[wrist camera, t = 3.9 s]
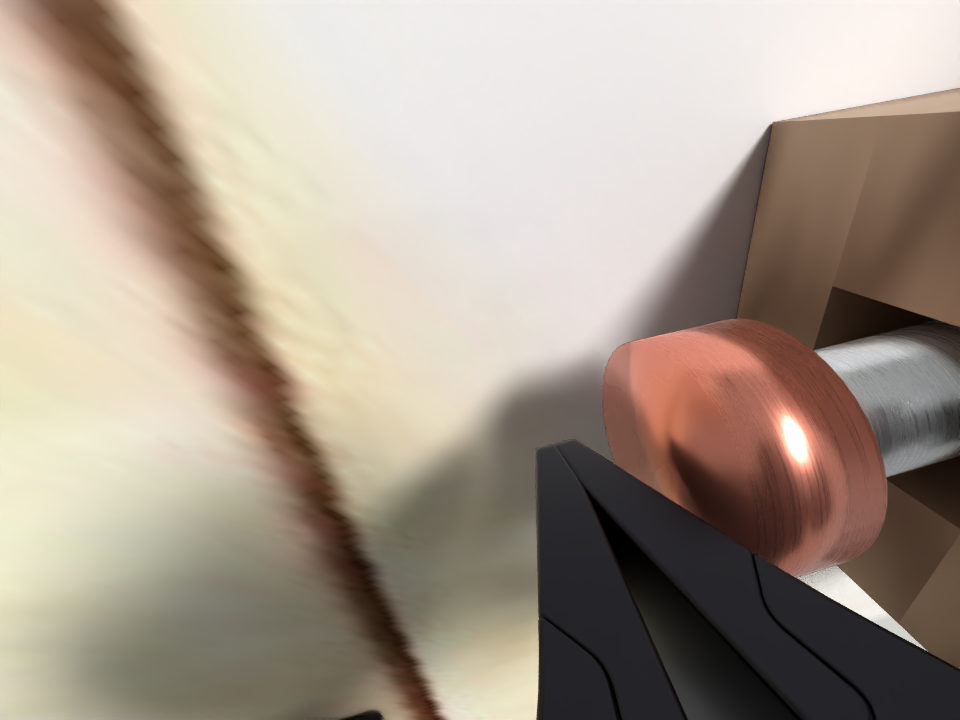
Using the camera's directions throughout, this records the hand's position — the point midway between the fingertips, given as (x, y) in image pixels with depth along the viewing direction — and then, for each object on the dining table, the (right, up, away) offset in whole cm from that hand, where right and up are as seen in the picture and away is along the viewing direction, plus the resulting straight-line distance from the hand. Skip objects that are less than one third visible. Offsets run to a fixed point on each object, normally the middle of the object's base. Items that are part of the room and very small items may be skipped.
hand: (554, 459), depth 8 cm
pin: (+8, +3, +2) cm, 9 cm away
